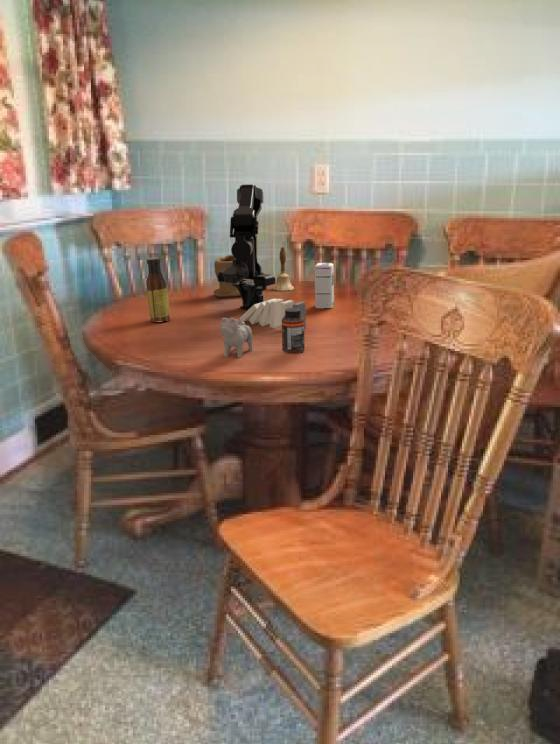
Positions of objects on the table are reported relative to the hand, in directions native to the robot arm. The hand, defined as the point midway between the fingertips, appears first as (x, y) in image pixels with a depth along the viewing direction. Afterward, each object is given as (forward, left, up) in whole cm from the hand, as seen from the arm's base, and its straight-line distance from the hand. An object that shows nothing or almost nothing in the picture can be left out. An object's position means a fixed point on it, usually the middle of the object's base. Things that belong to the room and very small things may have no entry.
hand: (246, 305), depth 205 cm
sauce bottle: (-24, -14, -5) cm, 29 cm away
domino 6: (+20, 0, -5) cm, 20 cm away
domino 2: (+3, 0, -4) cm, 5 cm away
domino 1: (-1, 0, -4) cm, 5 cm away
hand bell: (-20, +48, -5) cm, 52 cm away
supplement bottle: (+31, -19, -5) cm, 36 cm away
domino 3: (+7, 0, -5) cm, 9 cm away
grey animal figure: (+20, -29, -5) cm, 35 cm away
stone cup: (-28, +28, -5) cm, 40 cm away
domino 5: (+15, 0, -5) cm, 16 cm away
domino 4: (+11, 0, -5) cm, 12 cm away
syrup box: (+10, +30, -5) cm, 32 cm away
